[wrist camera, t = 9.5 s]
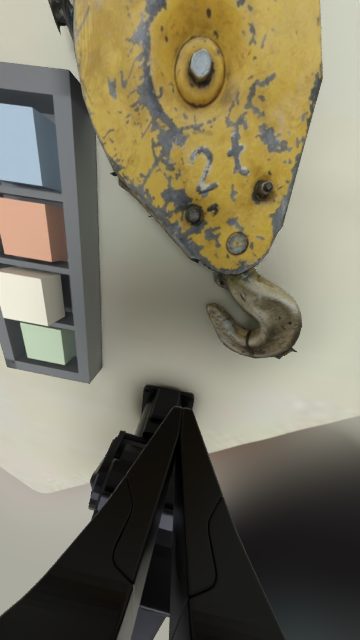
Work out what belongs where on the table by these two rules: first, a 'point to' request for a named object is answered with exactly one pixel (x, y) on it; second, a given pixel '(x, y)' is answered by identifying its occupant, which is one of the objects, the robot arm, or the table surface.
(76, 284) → the gray cubby shelf
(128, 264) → the table surface
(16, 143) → the key blue
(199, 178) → the pulley block
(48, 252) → the key terracotta
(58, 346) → the key sage
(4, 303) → the key cream
